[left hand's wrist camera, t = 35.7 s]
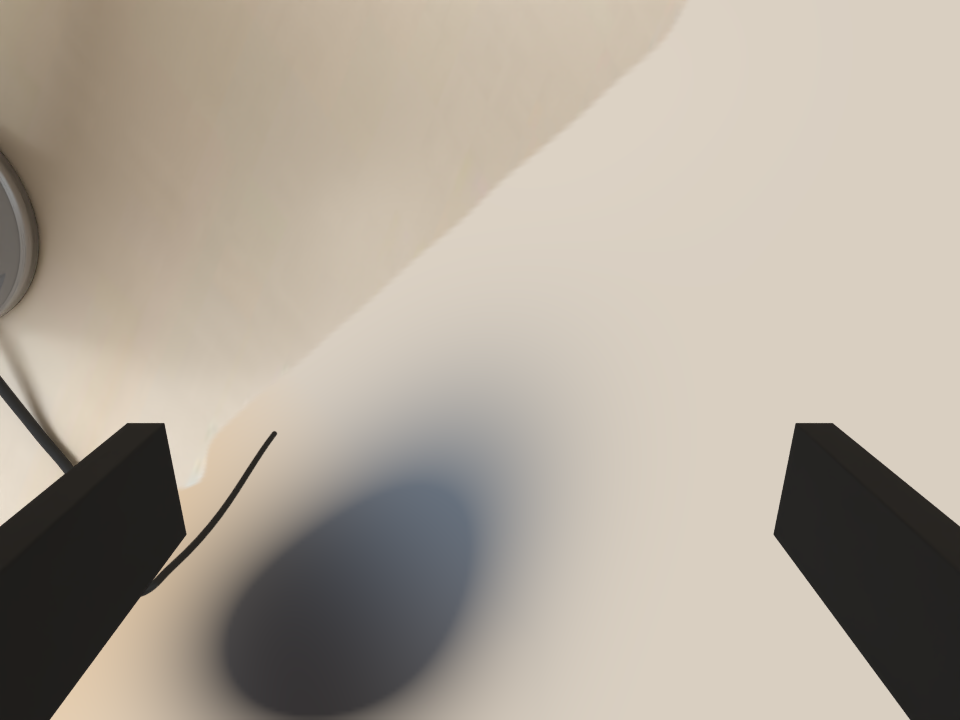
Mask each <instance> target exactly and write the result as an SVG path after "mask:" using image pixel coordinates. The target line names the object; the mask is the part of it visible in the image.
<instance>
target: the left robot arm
mask: <svg viewBox="0 0 960 720" xmlns="http://www.w3.org/2000/svg"><path fill="white" fill-rule="evenodd" d="M38 253H39V236H38V229H37V223H36V218H35V214H34V211H33V208H32V205H31V202H30V199H29V197H28V194H27V192H26V190H25V188H24V186H23V184H22V182H21V180H20V178H19V177H18V175H17V173H16V172H15V170H14V169H13V167H12V166H11V164H10V163H9V162H8V160H7V159H6V157H5V156H4V155H3V154H2V153H1V151H0V317H1V316H3V315H4V314H6V313H7V312H8V311H10V310H11V309H12V308H13V307H14V306H15V305H16V304H17V303H18V302H19V301H20V300H21V299H22V297H23V296H24V295H25V293H26V291H27V290H28V288H29V286H30V284H31V282H32V280H33V277H34V274H35V271H36V267H37V261H38ZM0 395H1V397H2V398H3V399H4V400H5V402H6V403H7V404H8V405H9V407H10V408H11V409H12V410H13V412H14V413H15V414H16V415H17V416H18V418H19V419H20V420H21V421H22V423H23V424H24V425H25V426H26V428H27V429H28V430H29V431H30V433H31V434H32V435H33V436H34V438H35V439H36V440H37V441H38V442H39V444H40V445H41V446H42V447H43V448H44V449H45V451H46V452H47V453H48V454H49V455H50V456H51V457H52V459H53V460H54V461H55V462H56V463H57V464H58V466H59V467H60V468H61V469H62V471H63V472H64V473H65V474H64V475H63V476H62V477H61V478H59V479H58V480H57V481H56V482H54V483H53V484H52V485H51V486H50V487H48V488H47V489H46V490H45V491H43V492H42V493H41V494H40V495H38V496H37V497H36V498H35V499H33V500H32V501H31V502H30V503H29V504H27V505H26V506H25V507H24V508H22V509H21V510H20V511H19V512H17V513H16V514H15V515H14V516H13V517H11V518H10V519H9V520H8V521H6V522H5V523H4V524H3V525H1V526H0V720H50V719H51V717H52V716H53V715H54V713H55V712H56V710H57V709H58V708H59V706H60V705H61V704H62V702H63V701H64V700H65V698H66V697H67V696H68V694H69V693H70V692H71V690H72V689H73V688H74V686H75V685H76V683H77V682H78V681H79V679H80V678H81V677H82V675H83V674H84V673H85V671H86V670H87V669H88V667H89V666H90V664H91V663H92V662H93V660H94V659H95V658H96V656H97V655H98V654H99V652H100V651H101V650H102V648H103V647H104V645H105V644H106V643H107V641H108V640H109V639H110V637H111V636H112V635H113V633H114V632H115V631H116V629H117V628H118V626H119V625H120V624H121V622H122V621H123V620H124V618H125V617H126V616H127V614H128V613H129V612H130V610H131V609H132V608H133V606H134V605H135V604H136V602H137V601H138V599H139V598H140V597H142V596H145V595H147V594H149V593H150V592H152V591H153V590H155V589H156V588H157V587H158V586H159V585H160V584H161V583H162V582H163V581H164V580H165V579H166V578H167V577H168V575H169V574H170V573H171V572H172V571H174V570H175V569H176V568H177V567H178V566H179V565H180V564H181V563H182V562H183V561H184V560H185V559H186V558H187V557H188V556H189V555H190V554H191V553H192V552H193V551H194V550H195V549H196V548H197V546H198V545H199V544H200V543H201V542H202V541H203V540H204V539H205V538H206V536H207V535H208V534H209V533H210V532H211V530H212V529H213V528H214V527H215V525H216V524H217V523H218V521H219V520H220V519H221V518H222V516H223V515H224V513H225V512H226V511H227V509H228V508H229V507H230V505H231V504H232V502H233V501H234V499H235V498H236V496H237V495H238V493H239V492H240V490H241V488H242V487H243V485H244V484H245V482H246V480H247V479H248V477H249V476H250V474H251V473H252V471H253V469H254V468H255V466H256V465H257V463H258V461H259V460H260V458H261V457H262V455H263V454H264V452H265V451H266V449H267V448H268V446H269V445H270V443H271V442H272V441H273V439H274V438H275V437H276V435H277V432H276V431H273V432H272V433H271V434H270V436H269V437H268V438H267V440H266V441H265V442H264V444H263V445H262V447H261V448H260V450H259V451H258V453H257V454H256V456H255V457H254V459H253V460H252V462H251V463H250V465H249V466H248V468H247V469H246V471H245V472H244V474H243V476H242V477H241V479H240V480H239V482H238V483H237V485H236V486H235V488H234V489H233V491H232V492H231V494H230V495H229V497H228V498H227V499H226V501H225V502H224V504H223V505H222V506H221V508H220V509H219V511H218V512H217V513H216V514H215V516H214V517H213V518H212V519H211V521H210V522H209V523H208V525H207V526H206V527H205V528H204V529H203V530H202V531H201V532H200V534H199V535H198V536H197V537H196V538H195V539H194V540H193V541H192V542H191V543H190V544H189V545H188V546H187V547H186V548H185V549H184V551H182V552H181V553H180V554H179V555H178V556H177V557H176V558H175V559H174V560H173V561H172V562H171V563H170V564H169V565H167V566H166V567H165V568H164V569H163V570H162V571H161V572H160V573H159V574H158V572H159V571H160V570H161V568H162V567H163V566H164V564H165V563H166V562H167V560H168V559H169V557H170V556H171V555H172V553H173V552H174V551H175V549H176V548H177V547H178V545H179V544H180V543H181V541H182V540H183V539H184V537H185V536H186V530H185V525H184V520H183V515H182V510H181V505H180V500H179V495H178V490H177V485H176V480H175V475H174V470H173V465H172V460H171V455H170V449H169V444H168V439H167V434H166V429H165V424H164V423H127V424H126V425H125V426H123V427H122V428H121V429H120V430H118V431H117V432H116V433H115V434H114V435H112V436H111V437H110V438H109V439H107V440H106V441H105V442H104V443H102V444H101V445H100V446H99V447H98V448H96V449H95V450H94V451H93V452H91V453H90V454H89V455H88V456H86V457H85V458H84V459H83V460H82V461H80V462H79V463H78V464H77V465H75V466H74V467H73V465H72V464H71V463H70V462H69V460H68V459H67V458H66V457H65V455H64V454H63V453H62V452H61V451H60V450H59V448H58V447H57V446H56V445H55V444H54V443H53V442H52V440H51V439H50V438H49V437H48V436H47V434H46V433H45V432H44V431H43V429H42V428H41V427H40V425H39V424H38V423H37V422H36V420H35V419H34V418H33V417H32V415H31V414H30V413H29V412H28V410H27V409H26V408H25V407H24V405H23V404H22V403H21V402H20V400H19V399H18V398H17V397H16V395H15V394H14V393H13V391H12V390H11V389H10V388H9V386H8V385H7V384H6V383H5V381H4V380H3V379H2V377H1V376H0ZM774 536H775V537H776V539H777V540H778V541H779V543H780V544H781V545H782V547H783V548H784V549H785V551H786V552H787V553H788V555H789V556H790V557H791V559H792V560H793V562H794V563H795V564H796V566H797V567H798V568H799V570H800V571H801V572H802V574H803V575H804V576H805V578H806V579H807V581H808V582H809V583H810V585H811V586H812V587H813V589H814V590H815V591H816V593H817V594H818V595H819V597H820V598H821V599H822V601H823V602H824V604H825V605H826V606H827V608H828V609H829V610H830V612H831V613H832V614H833V616H834V617H835V618H836V620H837V621H838V622H839V624H840V625H841V626H842V628H843V629H844V631H845V632H846V633H847V635H848V636H849V637H850V639H851V640H852V641H853V643H854V644H855V645H856V647H857V648H858V650H859V651H860V652H861V654H862V655H863V656H864V658H865V659H866V660H867V662H868V663H869V664H870V666H871V667H872V669H873V670H874V671H875V673H876V674H877V675H878V677H879V678H880V679H881V681H882V682H883V683H884V685H885V686H886V687H887V689H888V690H889V692H890V693H891V694H892V696H893V697H894V698H895V700H896V701H897V702H898V704H899V705H900V706H901V708H902V709H903V710H904V712H905V713H906V715H907V716H908V717H909V719H910V720H960V526H959V525H957V524H956V523H955V522H954V521H952V520H951V519H950V518H949V517H947V516H946V515H945V514H944V513H943V512H941V511H940V510H939V509H938V508H936V507H935V506H934V505H933V504H931V503H930V502H929V501H928V500H926V499H925V498H924V497H923V496H921V495H920V494H919V493H918V492H917V491H915V490H914V489H913V488H912V487H910V486H909V485H908V484H907V483H906V482H904V481H903V480H902V479H901V478H899V477H898V476H897V475H896V474H894V473H893V472H892V471H891V470H890V469H888V468H887V467H886V466H885V465H883V464H882V463H881V462H880V461H878V460H877V459H876V458H875V457H874V456H872V455H871V454H870V453H869V452H867V451H866V450H865V449H864V448H862V447H861V446H860V445H859V444H858V443H856V442H855V441H854V440H853V439H851V438H850V437H849V436H848V435H846V434H845V433H844V432H843V431H842V430H840V429H839V428H838V427H837V426H835V425H834V424H833V423H796V424H795V429H794V434H793V439H792V444H791V449H790V455H789V460H788V465H787V470H786V475H785V480H784V485H783V490H782V495H781V500H780V505H779V510H778V515H777V520H776V525H775V530H774ZM157 574H158V575H157ZM156 575H157V576H156ZM155 576H156V578H155ZM154 578H155V579H154Z"/></svg>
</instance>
